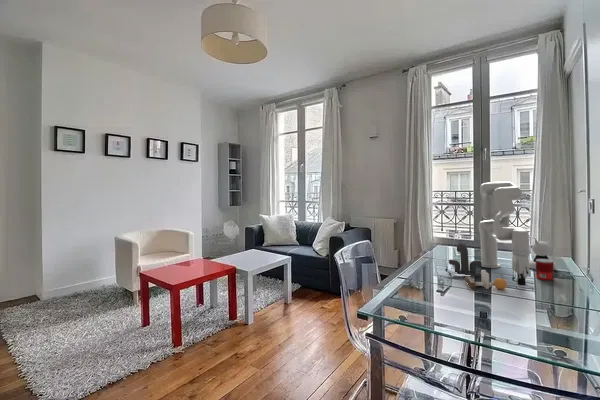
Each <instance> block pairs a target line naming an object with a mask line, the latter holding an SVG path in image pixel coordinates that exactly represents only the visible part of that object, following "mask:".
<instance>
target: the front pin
mask: <svg viewBox="0 0 600 400" xmlns="http://www.w3.org/2000/svg"><path fill="white" fill-rule="evenodd" d="M474 282H475V287H477V286H482V287H481V288H483V287H484V282H481V281H474ZM489 288H493V283H492V282H489Z"/></svg>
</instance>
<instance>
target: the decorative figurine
mask: <svg viewBox="0 0 600 400" xmlns="http://www.w3.org/2000/svg"><path fill="white" fill-rule="evenodd" d="M550 243H551V240H548V241H542V240H540V241H538V240H537V239H535V238H534V243H533V244H531V245H530V249H532V253H534V254H535V256H534V258H533V259H530V260H529V259H528V260H529V269H532V270H535V271H536V259H549V257H548V255H549V254H550V253H551V251H552V247H551V245H550ZM556 269H557V264H556V263H555V262H554V270H556Z"/></svg>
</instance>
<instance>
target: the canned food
mask: <svg viewBox="0 0 600 400" xmlns="http://www.w3.org/2000/svg"><path fill="white" fill-rule="evenodd" d="M554 263H555V262H554V260H552V259H549V258H548V259H536V270H535V272H536V273H535V274H536V275H535V277H536V278H537V279H538V280H541V281H546V282H547V281H549V282H550V281H553V280H554V278H555V269H554Z"/></svg>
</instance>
